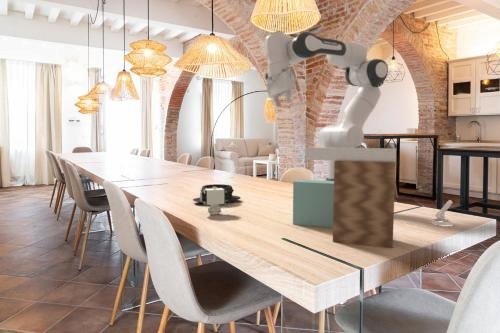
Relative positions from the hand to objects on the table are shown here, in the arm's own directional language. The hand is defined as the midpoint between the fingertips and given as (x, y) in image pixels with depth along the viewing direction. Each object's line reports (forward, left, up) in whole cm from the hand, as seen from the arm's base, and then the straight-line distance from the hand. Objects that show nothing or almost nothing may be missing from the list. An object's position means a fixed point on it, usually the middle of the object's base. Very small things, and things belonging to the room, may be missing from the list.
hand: (283, 104), depth 156 cm
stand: (-6, +45, -47) cm, 65 cm away
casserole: (+16, -39, -47) cm, 63 cm away
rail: (-2, +42, -21) cm, 46 cm away
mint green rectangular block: (-5, +20, -47) cm, 51 cm away
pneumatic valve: (+26, -13, -47) cm, 55 cm away
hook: (-49, +39, -47) cm, 78 cm away
